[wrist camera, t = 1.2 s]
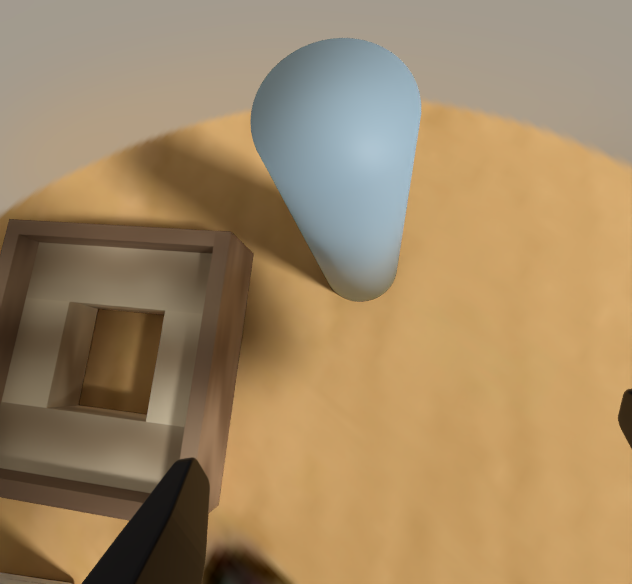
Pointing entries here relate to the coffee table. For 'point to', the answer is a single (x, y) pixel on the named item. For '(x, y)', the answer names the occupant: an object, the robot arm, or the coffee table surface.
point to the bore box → (73, 349)
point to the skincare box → (25, 580)
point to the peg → (342, 155)
